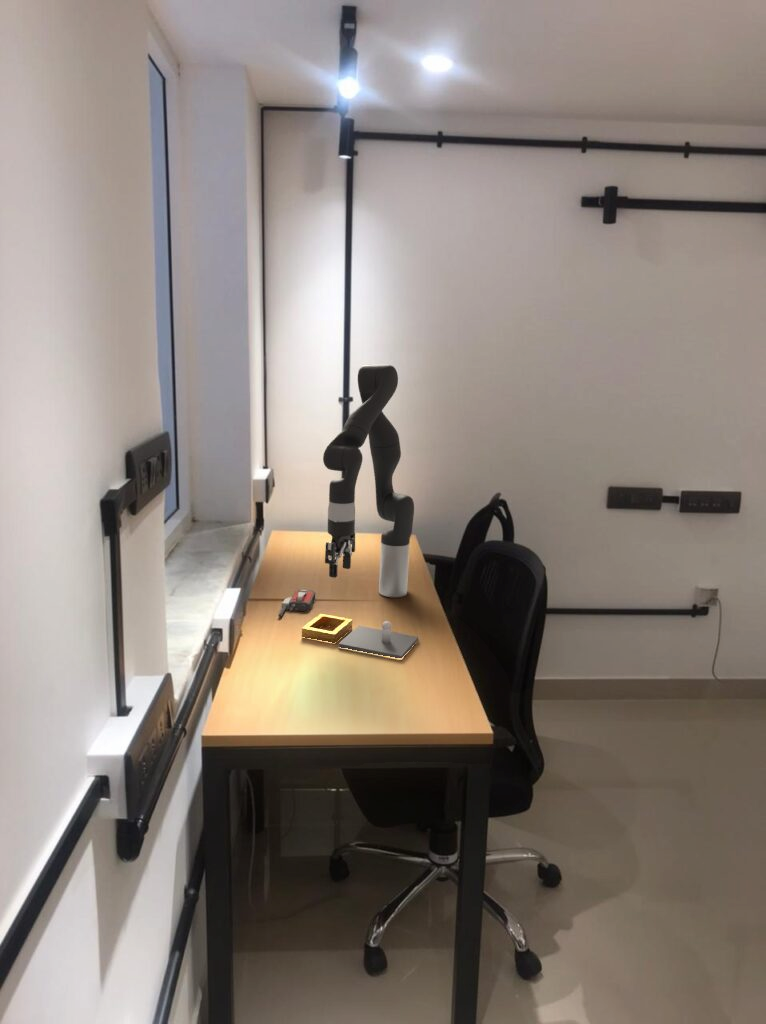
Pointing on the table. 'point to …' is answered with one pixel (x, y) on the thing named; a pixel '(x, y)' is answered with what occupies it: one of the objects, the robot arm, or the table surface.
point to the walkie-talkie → (299, 601)
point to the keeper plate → (379, 641)
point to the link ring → (340, 623)
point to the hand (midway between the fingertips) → (340, 572)
